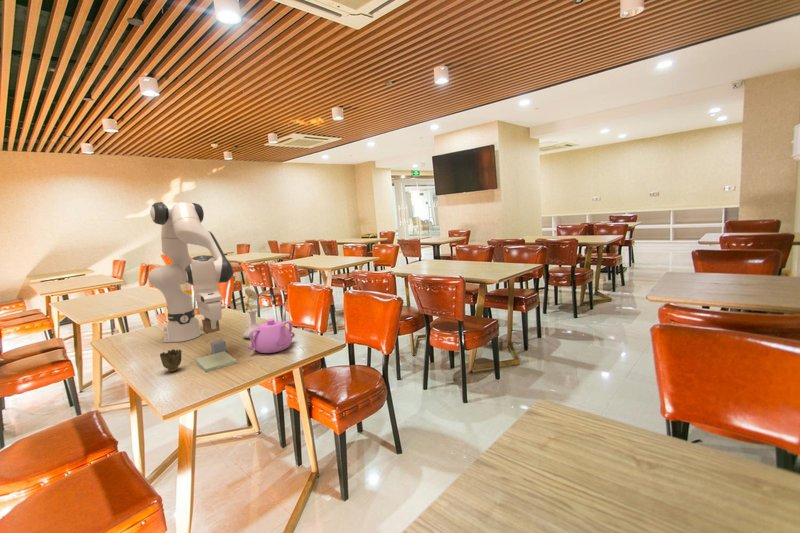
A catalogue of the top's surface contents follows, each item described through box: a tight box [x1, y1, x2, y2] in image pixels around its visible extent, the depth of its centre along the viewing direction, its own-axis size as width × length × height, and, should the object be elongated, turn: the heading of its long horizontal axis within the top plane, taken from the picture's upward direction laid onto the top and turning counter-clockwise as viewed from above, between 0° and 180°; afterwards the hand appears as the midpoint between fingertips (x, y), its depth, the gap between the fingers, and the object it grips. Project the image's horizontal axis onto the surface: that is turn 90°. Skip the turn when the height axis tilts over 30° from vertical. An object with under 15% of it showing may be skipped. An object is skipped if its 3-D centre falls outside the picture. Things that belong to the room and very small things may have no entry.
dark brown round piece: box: [159, 348, 182, 373], centre depth 150 cm, size 8×7×8 cm
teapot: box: [248, 318, 296, 354], centre depth 168 cm, size 22×22×14 cm
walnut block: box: [201, 318, 221, 334], centre depth 155 cm, size 5×5×5 cm
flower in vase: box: [242, 287, 260, 339], centre depth 188 cm, size 13×11×25 cm
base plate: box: [194, 351, 238, 373], centre depth 157 cm, size 16×12×1 cm
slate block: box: [210, 339, 228, 354], centre depth 169 cm, size 5×5×5 cm
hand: (211, 327), depth 155 cm, fingers closed on walnut block, 5 cm apart
